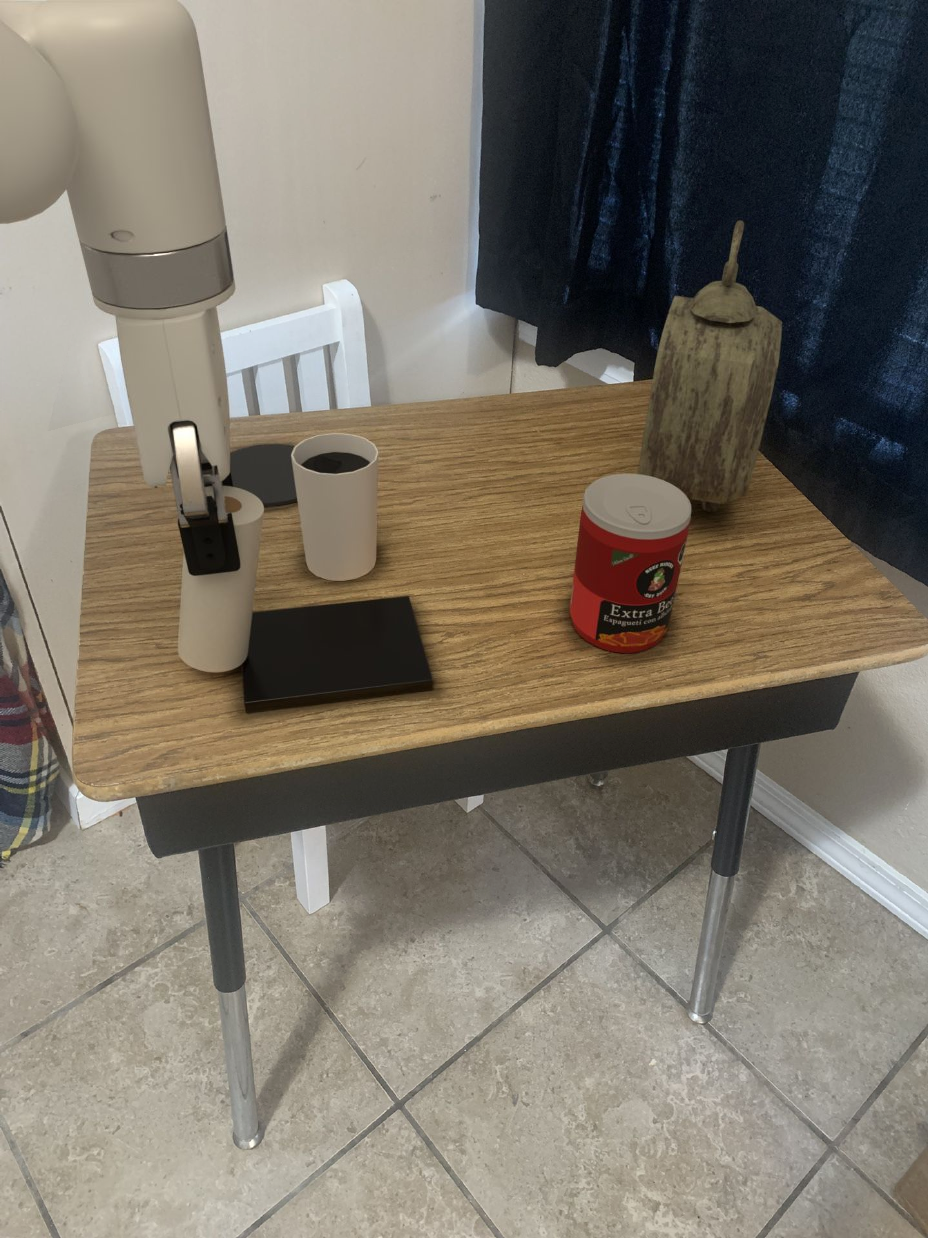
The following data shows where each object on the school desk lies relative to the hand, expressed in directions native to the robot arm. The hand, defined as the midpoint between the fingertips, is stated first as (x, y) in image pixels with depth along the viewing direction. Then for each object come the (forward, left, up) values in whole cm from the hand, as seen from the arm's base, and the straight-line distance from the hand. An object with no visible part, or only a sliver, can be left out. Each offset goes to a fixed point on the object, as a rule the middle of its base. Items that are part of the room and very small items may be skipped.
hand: (214, 543), depth 64 cm
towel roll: (+2, 0, -3) cm, 4 cm away
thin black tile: (+7, 0, -11) cm, 13 cm away
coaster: (+4, +27, -11) cm, 29 cm away
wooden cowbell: (+41, +15, -11) cm, 45 cm away
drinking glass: (+9, +12, -11) cm, 19 cm away
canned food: (+29, 0, -11) cm, 31 cm away
